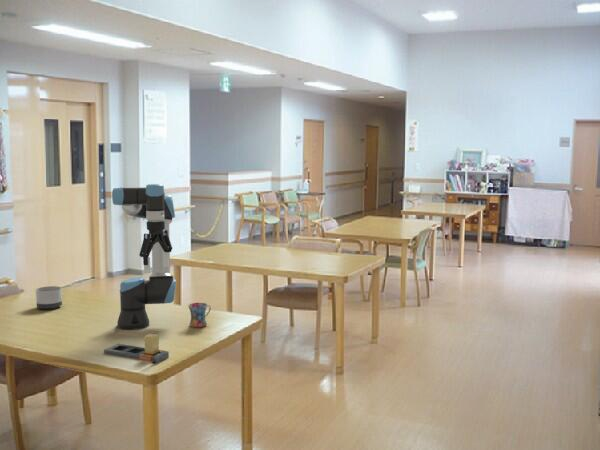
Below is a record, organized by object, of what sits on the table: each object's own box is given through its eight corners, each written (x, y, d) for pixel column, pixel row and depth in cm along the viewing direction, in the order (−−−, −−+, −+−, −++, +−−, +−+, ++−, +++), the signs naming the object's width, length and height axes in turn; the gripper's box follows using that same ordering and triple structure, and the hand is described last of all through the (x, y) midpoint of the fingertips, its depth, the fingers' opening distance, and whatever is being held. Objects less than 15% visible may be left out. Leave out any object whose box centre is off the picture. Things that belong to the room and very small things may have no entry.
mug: (195, 329, 302) (194, 308, 300) (184, 325, 308) (184, 304, 307) (216, 325, 310) (215, 304, 308) (205, 321, 316) (205, 300, 315)
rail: (103, 355, 264) (103, 349, 263) (118, 349, 272) (118, 343, 272) (155, 364, 254) (155, 357, 253) (168, 357, 262) (168, 351, 262)
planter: (44, 304, 349) (43, 285, 348) (66, 305, 347) (65, 286, 346) (31, 310, 337) (31, 291, 335) (54, 311, 335) (53, 291, 334)
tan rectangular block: (145, 357, 259) (144, 336, 258) (151, 354, 262) (150, 333, 261) (153, 358, 257) (152, 337, 256) (158, 355, 261) (158, 334, 260)
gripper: (144, 224, 254) (146, 275, 257) (179, 218, 277) (180, 265, 280) (129, 223, 257) (131, 274, 260) (165, 217, 280) (166, 264, 283)
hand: (156, 269), depth 270 cm, fingers open, 13 cm apart
